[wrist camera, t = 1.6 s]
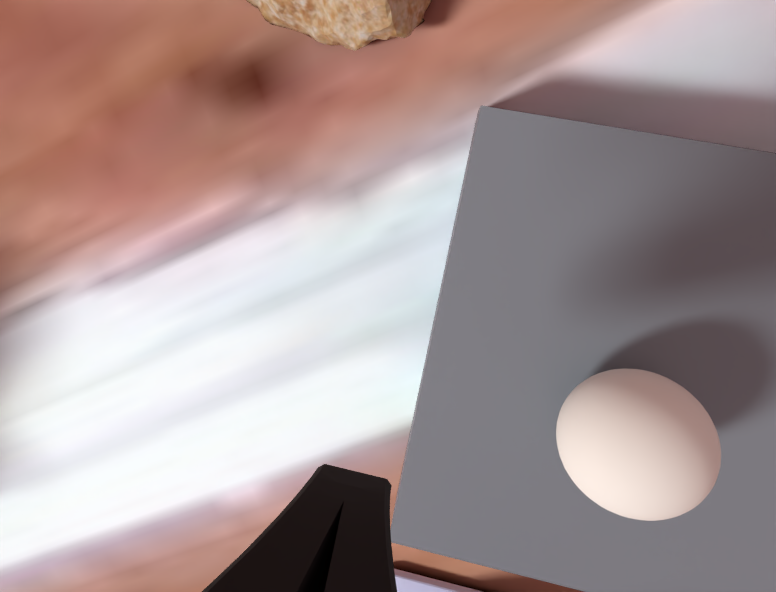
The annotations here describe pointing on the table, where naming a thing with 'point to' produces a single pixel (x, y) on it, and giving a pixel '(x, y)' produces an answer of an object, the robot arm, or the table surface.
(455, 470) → the plate
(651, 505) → the ball
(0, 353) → the table surface
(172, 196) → the table surface
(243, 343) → the table surface
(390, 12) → the stone
